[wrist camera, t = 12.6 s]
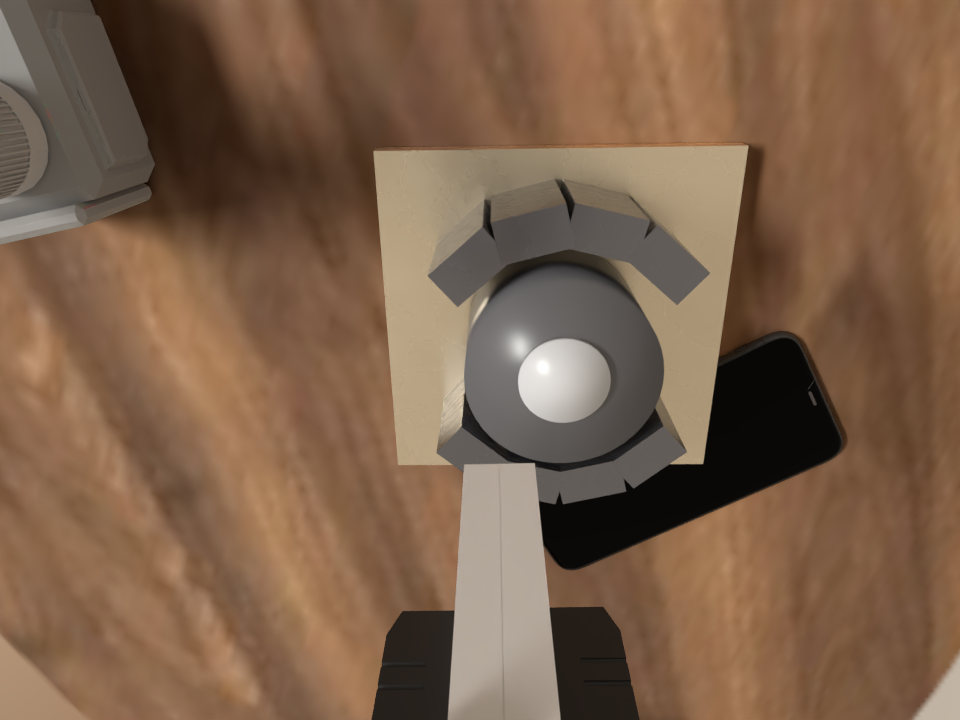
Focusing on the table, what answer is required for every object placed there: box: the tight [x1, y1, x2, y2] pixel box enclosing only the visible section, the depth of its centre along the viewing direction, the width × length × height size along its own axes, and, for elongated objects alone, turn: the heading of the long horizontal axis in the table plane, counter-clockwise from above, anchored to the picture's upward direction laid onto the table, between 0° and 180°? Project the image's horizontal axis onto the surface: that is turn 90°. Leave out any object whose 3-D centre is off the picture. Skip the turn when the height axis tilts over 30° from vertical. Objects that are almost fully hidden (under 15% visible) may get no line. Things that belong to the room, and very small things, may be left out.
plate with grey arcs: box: [373, 142, 748, 504], centre depth 27 cm, size 14×14×6 cm
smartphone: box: [539, 331, 843, 570], centre depth 32 cm, size 7×1×15 cm
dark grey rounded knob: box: [464, 249, 664, 463], centre depth 26 cm, size 7×7×5 cm
